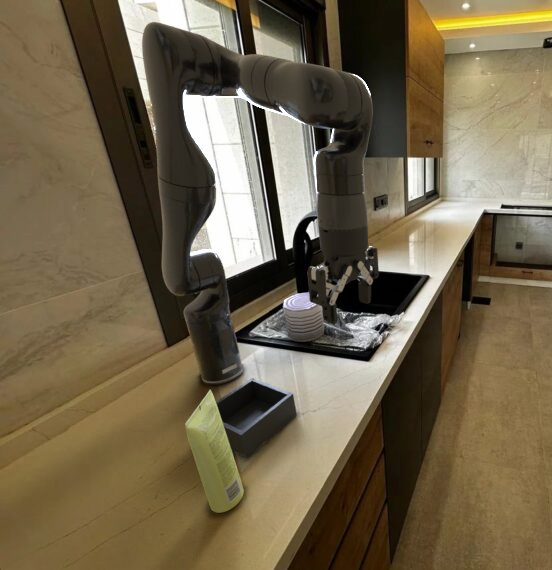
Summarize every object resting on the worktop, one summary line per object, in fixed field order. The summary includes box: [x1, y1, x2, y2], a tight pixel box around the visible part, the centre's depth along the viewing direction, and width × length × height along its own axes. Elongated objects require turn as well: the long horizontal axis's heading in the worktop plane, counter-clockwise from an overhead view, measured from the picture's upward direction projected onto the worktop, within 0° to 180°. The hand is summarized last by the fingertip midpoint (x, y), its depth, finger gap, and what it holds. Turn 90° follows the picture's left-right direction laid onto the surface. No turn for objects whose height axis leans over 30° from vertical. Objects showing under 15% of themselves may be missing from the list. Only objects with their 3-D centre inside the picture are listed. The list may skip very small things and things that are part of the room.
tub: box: [216, 377, 298, 459], centre depth 69 cm, size 13×13×6 cm
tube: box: [184, 389, 245, 514], centre depth 51 cm, size 6×5×20 cm
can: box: [282, 291, 325, 343], centre depth 104 cm, size 11×11×12 cm
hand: (349, 311), depth 58 cm, fingers open, 8 cm apart
